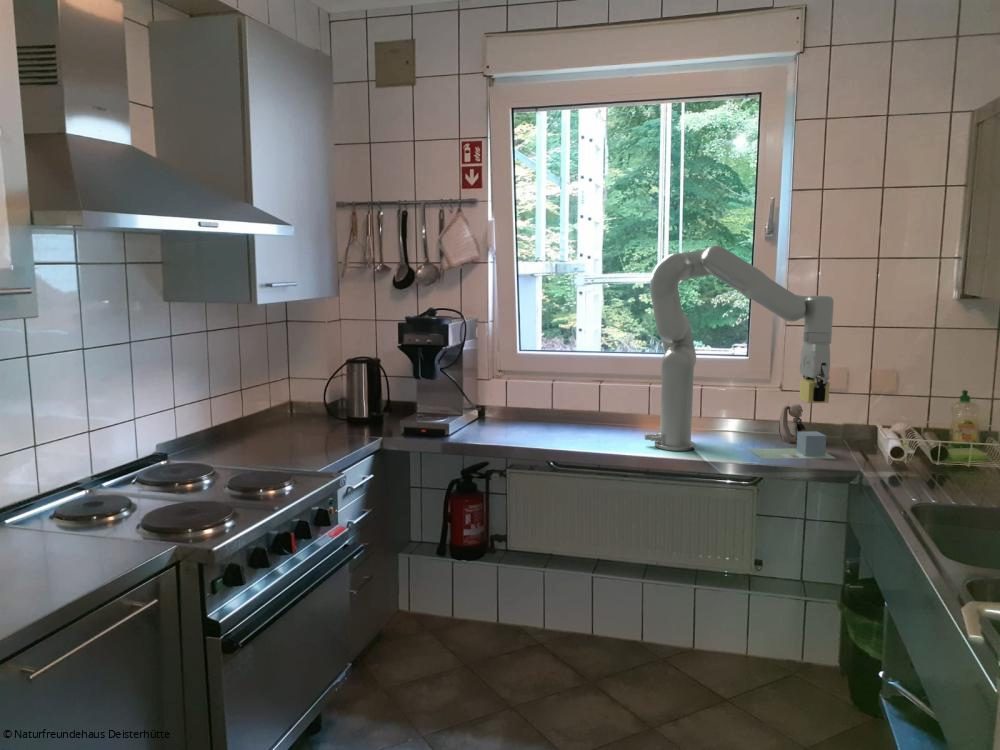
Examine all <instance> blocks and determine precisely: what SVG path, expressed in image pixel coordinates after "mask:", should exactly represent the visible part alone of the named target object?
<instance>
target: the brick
mask: <svg viewBox="0 0 1000 750" xmlns="http://www.w3.org/2000/svg"><path fill="white" fill-rule="evenodd" d="M818 381H820V380H818ZM799 383H800V384H799V400H800V401H802V402H805V403H808V404H828V403H829V401H830V400H829V398H830V397H829V396H830V382H829V381H827V384H826V389H825V401H813V395H814V388H816V387H815V379H813V380H804V379H800V382H799Z"/></svg>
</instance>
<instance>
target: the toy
mask: <svg viewBox="0 0 1000 750" xmlns="http://www.w3.org/2000/svg"><path fill="white" fill-rule="evenodd" d="M787 404H790V403H789V401H788V402H787ZM787 404H786V405H784V406H783V407H782V409H781V413H780V417H779V426H778V432H779V435H780V438H781V439H782V441H783V442H784V441H785V442H786V443H787V444H793V443H797V439H796V438H795V437H794V435H793V434H792V433H791V430H790V427H789V423H788V415H790V416H791V417H792V418H793V419H792V422H793V423H794V430H795V435H796V436H797V434H798V432H806V431H808V429H807V428H806V427H805V425H804V423H803V421H802V419H801V418H802V417H803V416H802V415H803V411H804V410H803V408H802V406H801V405H800V404H799V403H796V404H791V405H787ZM800 417H801V418H800Z"/></svg>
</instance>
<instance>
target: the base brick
mask: <svg viewBox="0 0 1000 750" xmlns="http://www.w3.org/2000/svg"><path fill="white" fill-rule="evenodd" d="M796 438H797V439H796V440H797V442H796V448H795V449H796V451H797V452H799V453H801V454H803V455H804V456H825V453H826V448H827V435H825V434H824V433H821V432H819V431H809V430H807V431H806V432H798V434H797V435H796Z"/></svg>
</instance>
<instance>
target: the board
mask: <svg viewBox="0 0 1000 750" xmlns="http://www.w3.org/2000/svg"><path fill="white" fill-rule="evenodd" d="M796 449H797V448H747V451H750V452H751V453H753V454H754V455H756V456H757V457H758V458H760V459H762V460H763V459H764V460H769V459H770V460H787V459H788V460H795V459H796V460H797V459H798V460H799V459H800V460H805V459H809V460H810V459H811V460H812V459H818V460H821V459H824V460H825V459H827V460H828V459H830V460H831V459H837V458H836V457H835V456H833V455H831V454H829V453H827V452H825V456H804V455H803V454H801V453H799V452H797V451H796Z"/></svg>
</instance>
